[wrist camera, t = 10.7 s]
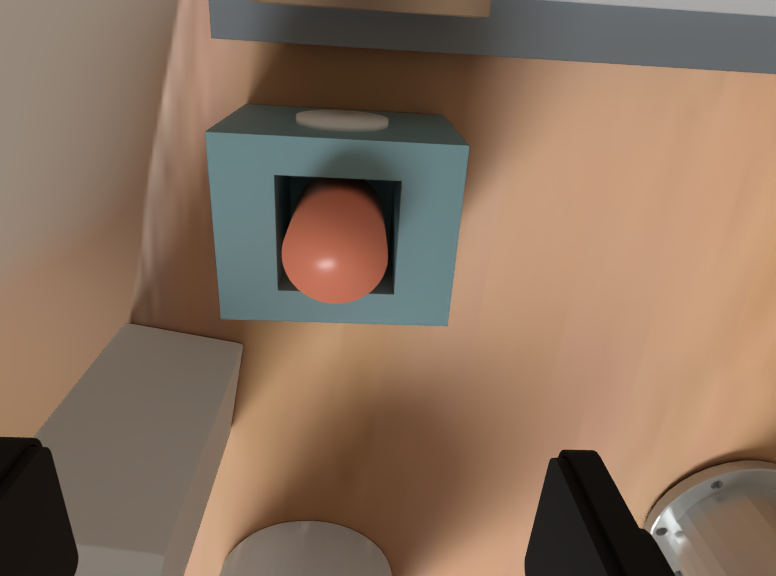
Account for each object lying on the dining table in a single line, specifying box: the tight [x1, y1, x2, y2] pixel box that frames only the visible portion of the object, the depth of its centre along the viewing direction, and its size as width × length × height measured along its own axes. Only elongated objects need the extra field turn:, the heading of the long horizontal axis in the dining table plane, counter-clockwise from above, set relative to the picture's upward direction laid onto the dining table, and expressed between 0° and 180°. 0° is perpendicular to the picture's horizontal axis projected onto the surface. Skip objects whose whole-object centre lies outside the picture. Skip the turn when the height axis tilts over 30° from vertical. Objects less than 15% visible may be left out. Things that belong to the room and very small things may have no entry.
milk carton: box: [33, 323, 243, 576], centre depth 26 cm, size 7×7×19 cm
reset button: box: [282, 177, 388, 304], centre depth 23 cm, size 4×4×5 cm
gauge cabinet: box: [205, 104, 470, 326], centre depth 26 cm, size 10×8×8 cm
